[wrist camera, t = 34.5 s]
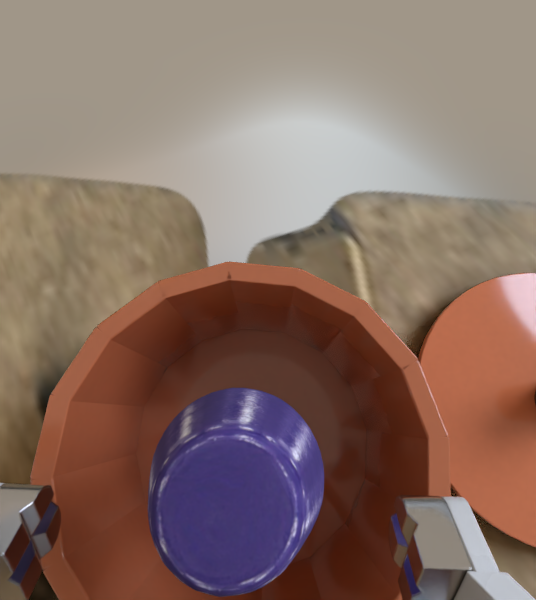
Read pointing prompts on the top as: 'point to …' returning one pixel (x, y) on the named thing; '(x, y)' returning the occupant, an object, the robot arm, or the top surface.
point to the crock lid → (489, 398)
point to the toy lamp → (234, 491)
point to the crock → (238, 374)
